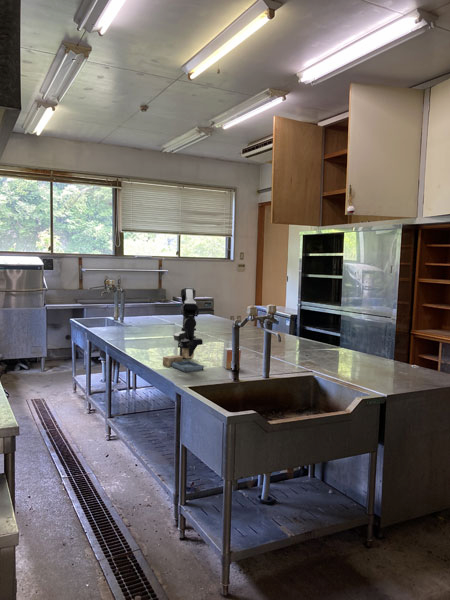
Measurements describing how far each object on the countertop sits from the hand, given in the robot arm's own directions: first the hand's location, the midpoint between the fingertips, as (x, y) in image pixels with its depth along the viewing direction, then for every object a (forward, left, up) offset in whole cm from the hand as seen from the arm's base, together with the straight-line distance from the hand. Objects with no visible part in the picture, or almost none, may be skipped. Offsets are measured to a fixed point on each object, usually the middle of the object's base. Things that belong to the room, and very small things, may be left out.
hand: (187, 355), depth 247 cm
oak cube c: (-10, -5, -7) cm, 13 cm away
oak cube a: (0, 0, -1) cm, 1 cm away
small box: (+9, +23, -7) cm, 26 cm away
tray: (0, 0, -7) cm, 7 cm away
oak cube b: (-10, 0, -7) cm, 12 cm away
